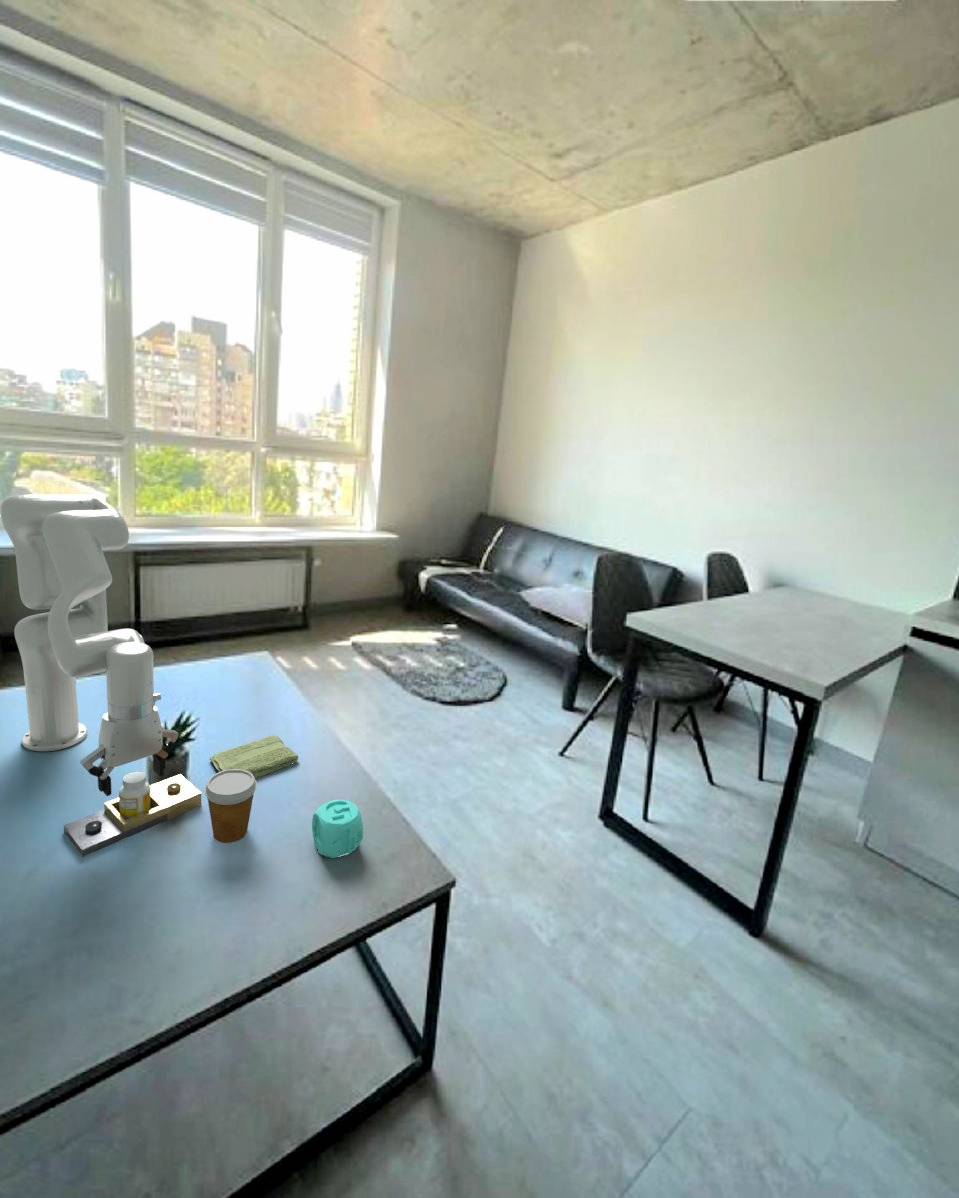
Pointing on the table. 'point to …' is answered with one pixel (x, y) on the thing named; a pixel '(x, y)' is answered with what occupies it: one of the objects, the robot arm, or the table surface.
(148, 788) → the supplement bottle
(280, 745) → the washcloth
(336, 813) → the decorative dice
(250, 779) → the disposable coffee cup
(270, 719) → the table surface
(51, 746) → the robot arm
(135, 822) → the holed plate
